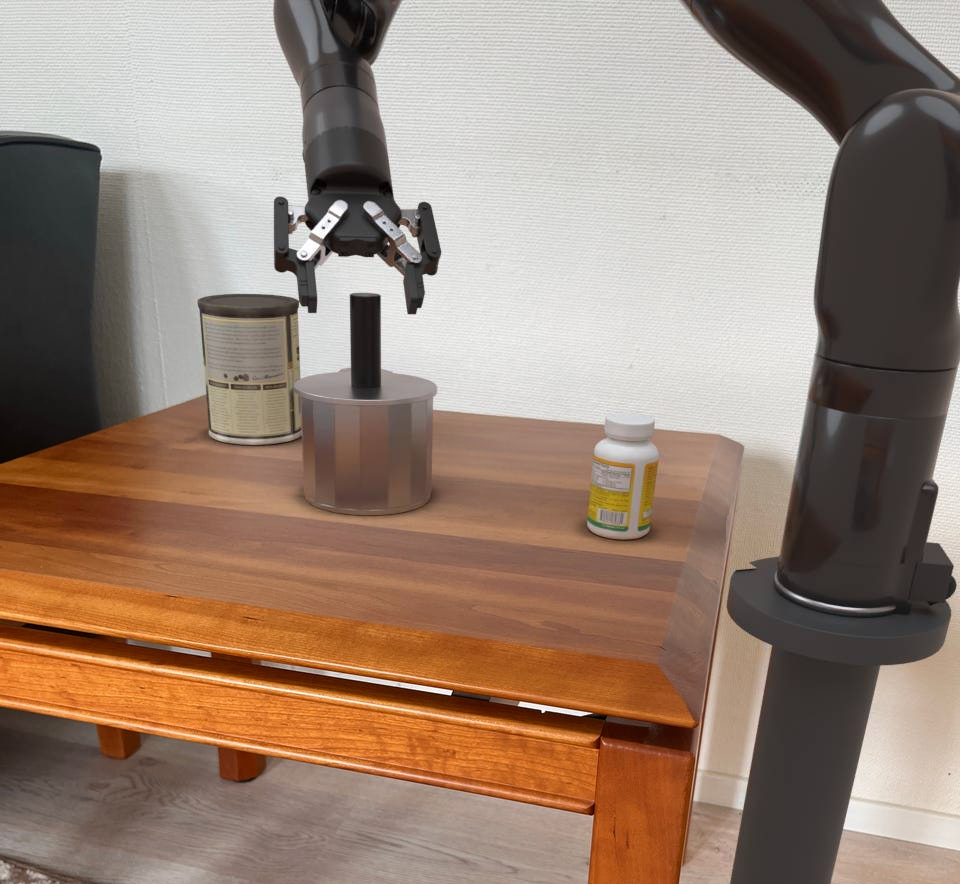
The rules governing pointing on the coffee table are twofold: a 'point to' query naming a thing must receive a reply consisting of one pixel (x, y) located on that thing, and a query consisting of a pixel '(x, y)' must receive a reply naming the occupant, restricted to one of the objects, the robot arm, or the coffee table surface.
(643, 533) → the supplement bottle
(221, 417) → the coffee can
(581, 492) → the coffee table surface
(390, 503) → the canister
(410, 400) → the canister lid
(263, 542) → the coffee table surface
